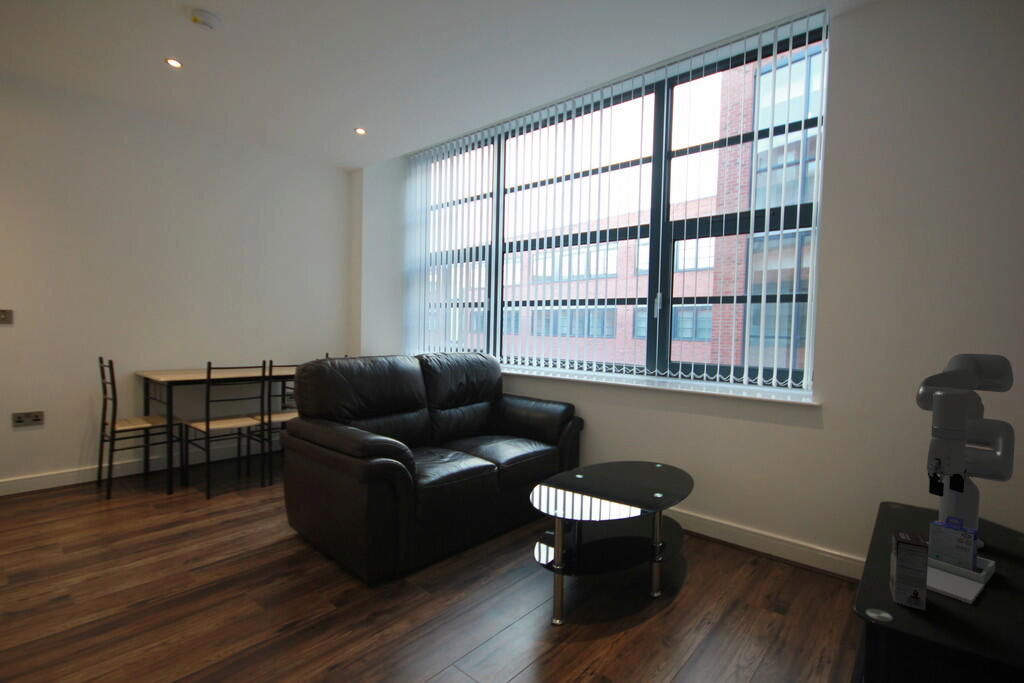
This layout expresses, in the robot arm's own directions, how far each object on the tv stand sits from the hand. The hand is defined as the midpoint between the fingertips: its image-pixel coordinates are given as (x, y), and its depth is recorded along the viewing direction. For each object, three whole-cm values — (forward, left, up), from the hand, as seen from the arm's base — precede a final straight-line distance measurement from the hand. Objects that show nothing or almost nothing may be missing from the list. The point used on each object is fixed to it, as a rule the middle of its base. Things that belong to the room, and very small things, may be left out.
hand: (946, 493), depth 136 cm
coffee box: (+28, -1, -23) cm, 36 cm away
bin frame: (-5, +1, -23) cm, 23 cm away
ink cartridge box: (-5, +1, -23) cm, 23 cm away
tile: (+10, +2, -23) cm, 25 cm away
